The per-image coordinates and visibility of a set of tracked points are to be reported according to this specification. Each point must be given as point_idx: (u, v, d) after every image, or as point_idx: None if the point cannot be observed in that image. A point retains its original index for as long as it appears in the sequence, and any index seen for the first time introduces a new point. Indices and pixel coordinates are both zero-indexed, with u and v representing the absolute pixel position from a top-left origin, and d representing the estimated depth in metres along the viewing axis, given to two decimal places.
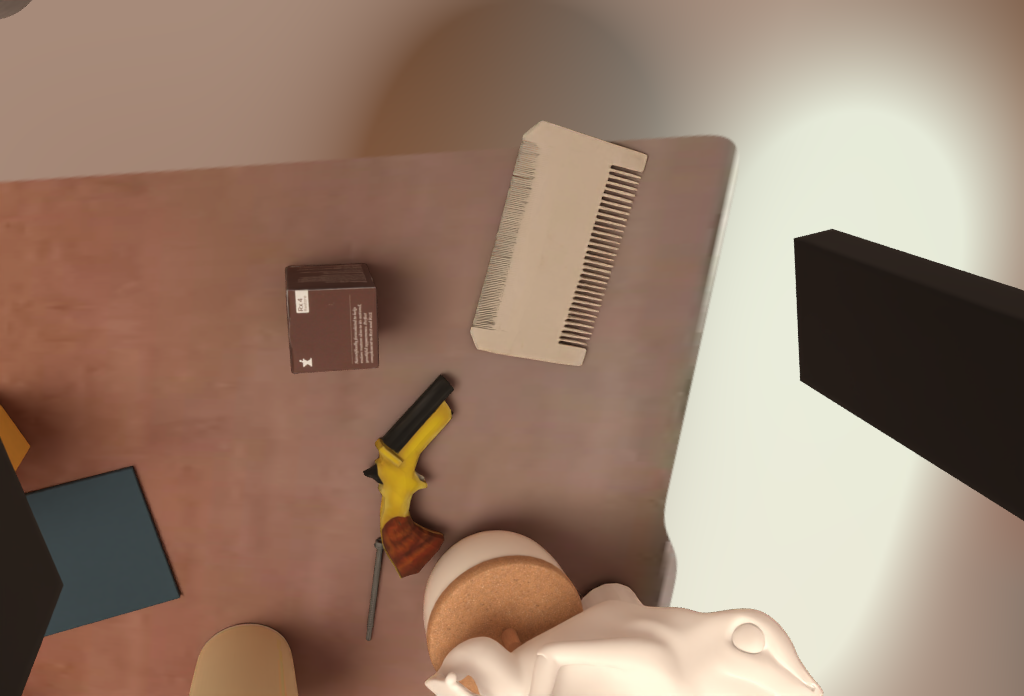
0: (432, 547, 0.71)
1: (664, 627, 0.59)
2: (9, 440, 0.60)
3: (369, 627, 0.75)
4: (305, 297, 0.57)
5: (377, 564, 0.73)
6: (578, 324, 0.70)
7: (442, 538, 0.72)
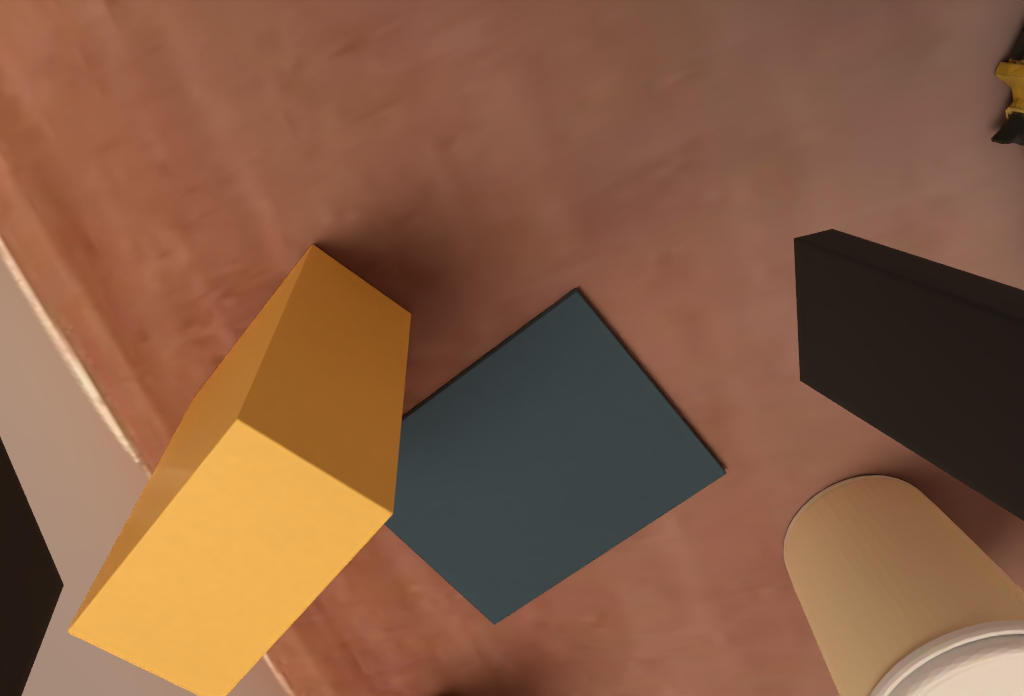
0: None
1: None
2: (376, 312, 0.34)
3: None
4: None
5: None
6: None
7: None
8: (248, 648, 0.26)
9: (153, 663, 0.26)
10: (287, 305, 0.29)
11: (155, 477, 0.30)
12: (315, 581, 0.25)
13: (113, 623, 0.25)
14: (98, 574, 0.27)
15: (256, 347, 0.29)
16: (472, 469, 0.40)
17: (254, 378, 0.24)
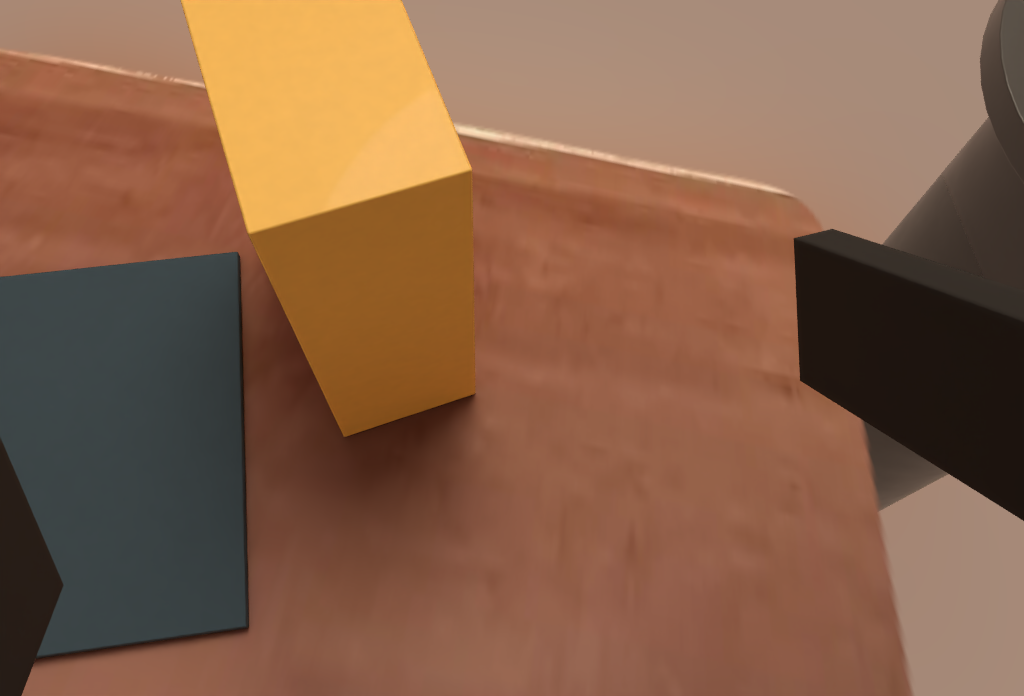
0: None
1: None
2: (382, 402, 0.29)
3: None
4: None
5: None
6: None
7: None
8: (204, 5, 0.21)
9: None
10: (473, 319, 0.26)
11: None
12: (230, 111, 0.19)
13: None
14: None
15: None
16: (126, 385, 0.31)
17: (472, 224, 0.21)
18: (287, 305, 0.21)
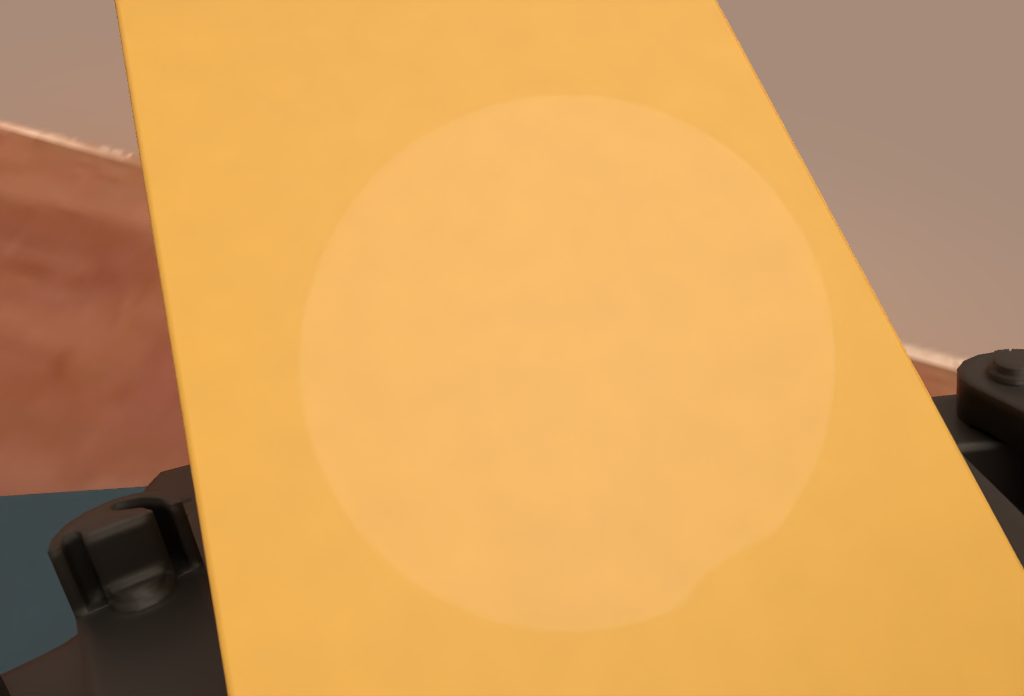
0: None
1: None
2: None
3: None
4: None
5: None
6: None
7: None
8: (206, 131, 0.07)
9: None
10: None
11: None
12: (266, 546, 0.05)
13: None
14: None
15: None
16: None
17: None
18: None
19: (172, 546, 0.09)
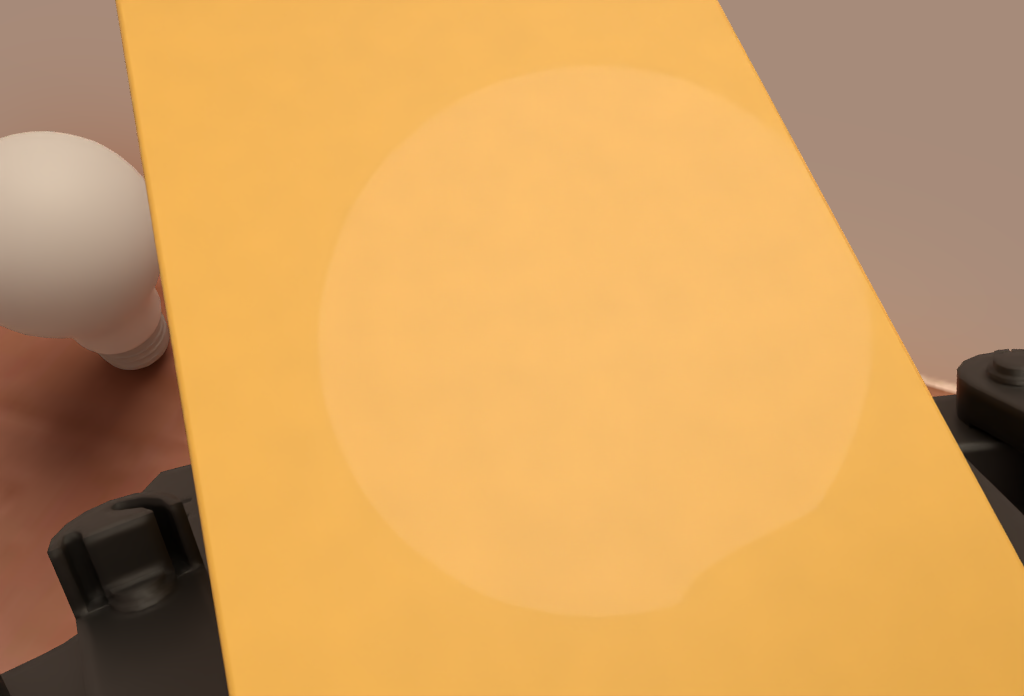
0: None
1: None
2: None
3: None
4: None
5: None
6: None
7: None
8: (208, 130, 0.07)
9: None
10: None
11: None
12: (267, 545, 0.05)
13: None
14: None
15: None
16: None
17: None
18: None
19: (172, 546, 0.09)
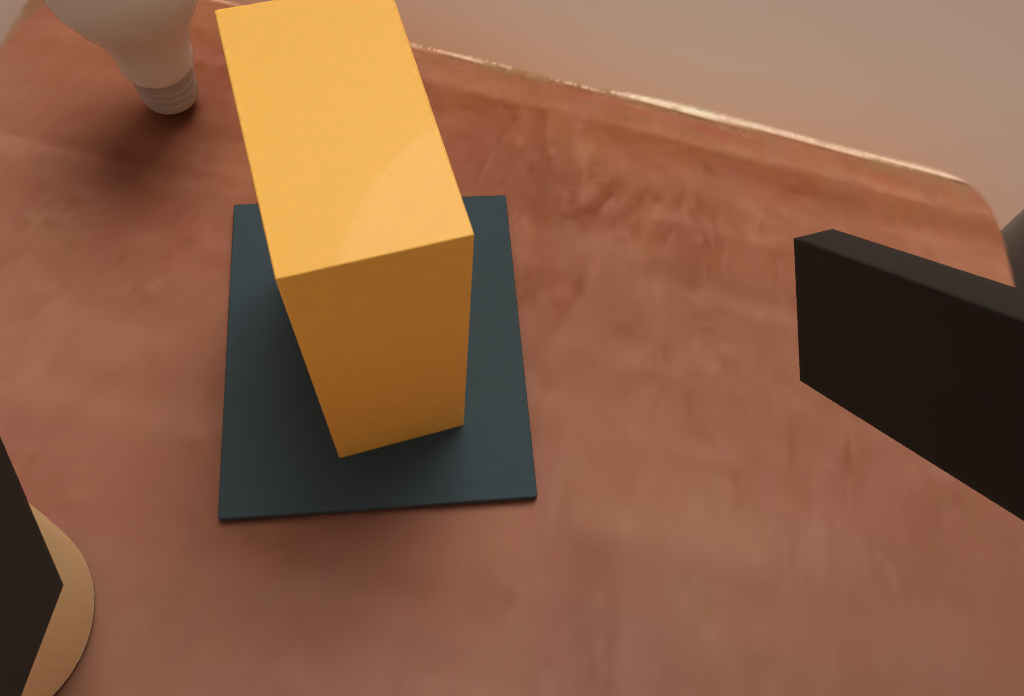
0: None
1: None
2: (377, 428, 0.32)
3: None
4: None
5: None
6: None
7: None
8: (248, 73, 0.23)
9: (302, 5, 0.25)
10: (466, 358, 0.29)
11: None
12: (265, 169, 0.22)
13: (366, 12, 0.25)
14: None
15: None
16: None
17: (471, 278, 0.24)
18: (302, 340, 0.24)
19: None
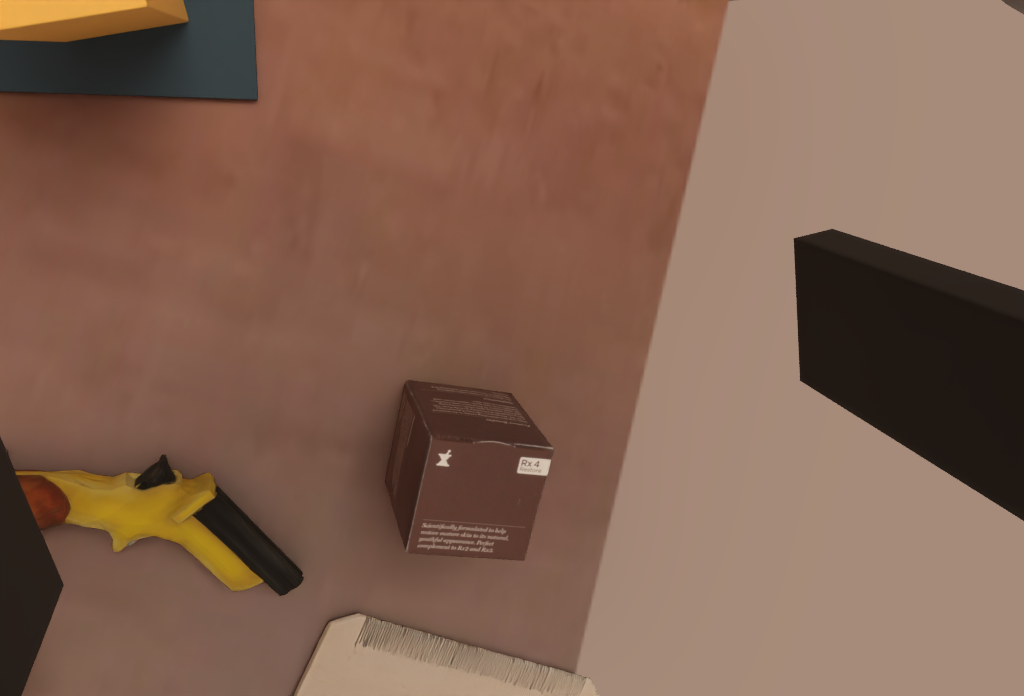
0: None
1: None
2: (96, 34, 0.34)
3: None
4: (538, 471, 0.40)
5: None
6: None
7: None
8: None
9: None
10: (173, 16, 0.30)
11: None
12: None
13: None
14: None
15: None
16: None
17: (156, 9, 0.26)
18: None
19: None
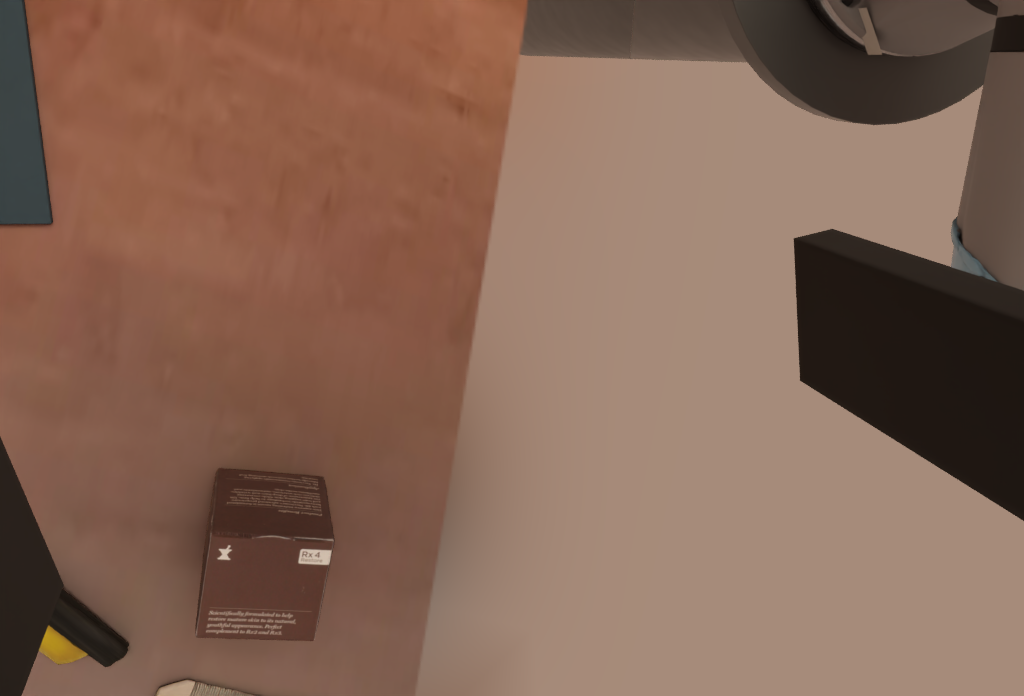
0: None
1: None
2: None
3: None
4: (319, 561, 0.43)
5: None
6: None
7: None
8: None
9: None
10: None
11: None
12: None
13: None
14: None
15: None
16: None
17: None
18: None
19: None
